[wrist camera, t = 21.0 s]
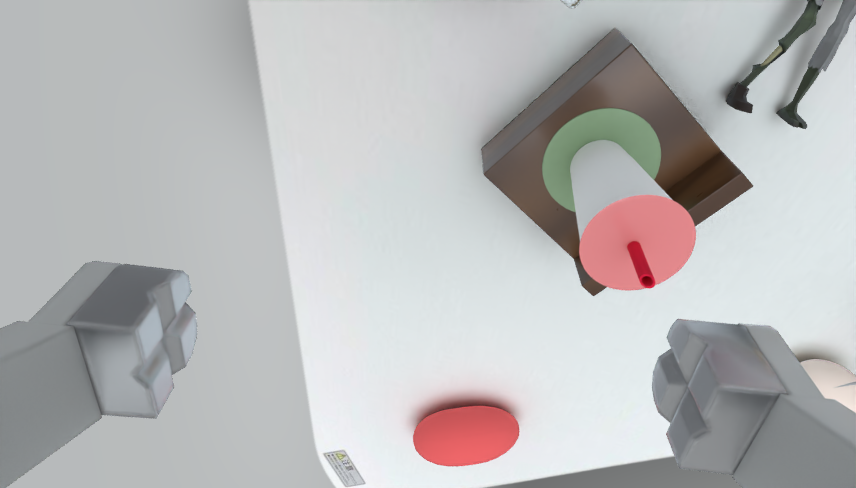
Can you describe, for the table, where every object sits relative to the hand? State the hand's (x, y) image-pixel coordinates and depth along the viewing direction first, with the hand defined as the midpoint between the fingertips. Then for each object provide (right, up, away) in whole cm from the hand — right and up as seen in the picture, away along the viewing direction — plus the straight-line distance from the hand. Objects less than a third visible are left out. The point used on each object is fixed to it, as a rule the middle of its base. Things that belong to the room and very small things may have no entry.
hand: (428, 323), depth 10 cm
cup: (+10, +6, +25) cm, 28 cm away
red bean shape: (+3, -14, +44) cm, 46 cm away
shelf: (+11, +8, +29) cm, 32 cm away
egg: (+29, -9, +36) cm, 47 cm away
